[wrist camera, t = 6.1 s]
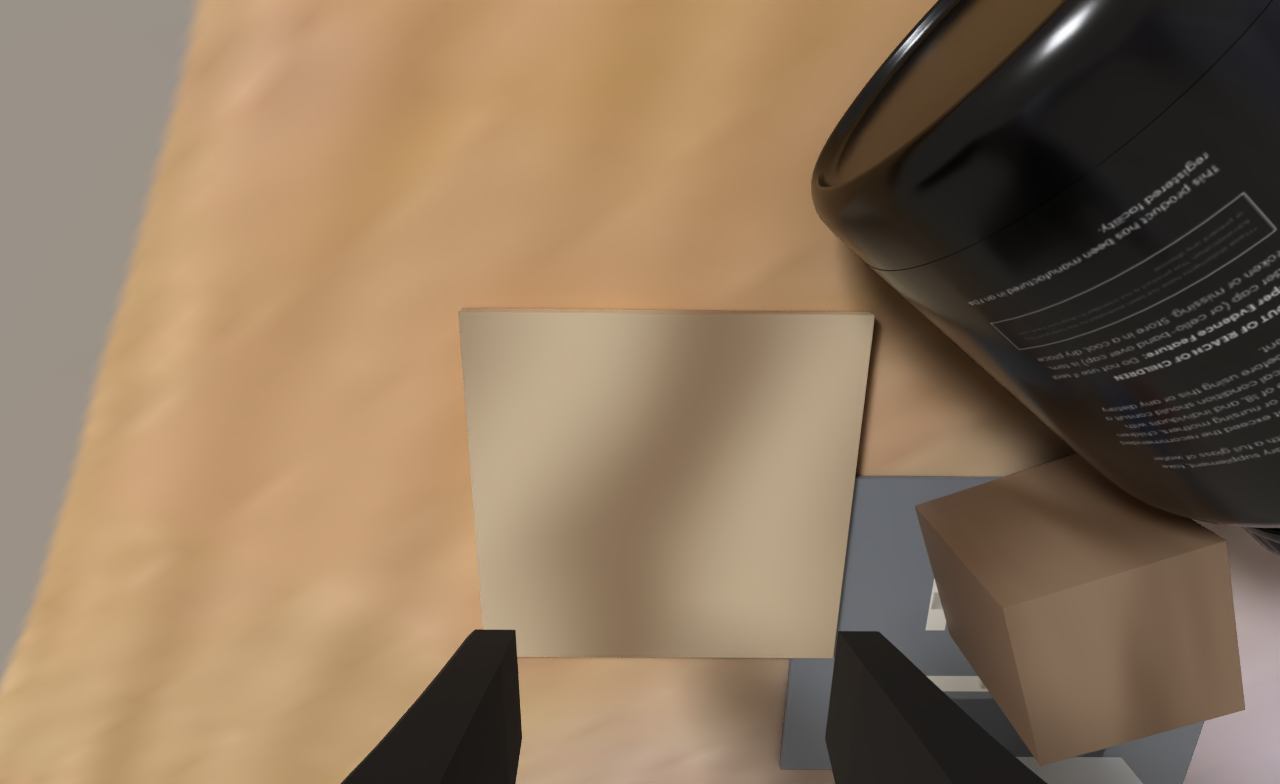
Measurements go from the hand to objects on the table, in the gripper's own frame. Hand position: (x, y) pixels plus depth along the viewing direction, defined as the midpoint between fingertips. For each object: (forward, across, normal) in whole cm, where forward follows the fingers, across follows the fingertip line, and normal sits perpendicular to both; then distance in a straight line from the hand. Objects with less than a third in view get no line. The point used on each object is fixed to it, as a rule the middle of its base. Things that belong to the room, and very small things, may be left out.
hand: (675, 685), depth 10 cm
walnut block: (+4, -7, +2) cm, 8 cm away
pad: (+6, 0, 0) cm, 6 cm away
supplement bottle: (+3, -4, -10) cm, 11 cm away
